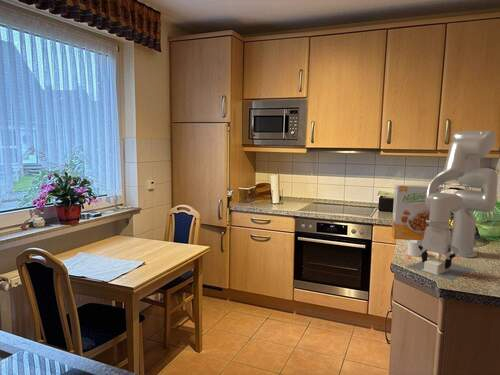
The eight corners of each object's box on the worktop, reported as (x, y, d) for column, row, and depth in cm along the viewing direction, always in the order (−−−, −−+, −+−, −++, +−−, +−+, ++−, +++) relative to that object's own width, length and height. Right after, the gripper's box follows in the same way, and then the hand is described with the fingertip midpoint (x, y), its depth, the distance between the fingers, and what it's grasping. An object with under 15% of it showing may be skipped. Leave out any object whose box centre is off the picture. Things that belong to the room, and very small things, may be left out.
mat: (431, 258, 174) (431, 257, 174) (475, 270, 159) (475, 269, 159) (406, 267, 162) (406, 266, 162) (451, 281, 147) (451, 279, 146)
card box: (437, 273, 153) (437, 265, 153) (423, 269, 157) (424, 261, 157) (446, 269, 158) (447, 261, 157) (433, 266, 162) (434, 258, 162)
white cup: (403, 253, 182) (404, 239, 181) (417, 253, 183) (418, 239, 182) (410, 257, 176) (411, 243, 175) (424, 257, 176) (425, 243, 175)
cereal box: (394, 239, 209) (397, 185, 206) (391, 236, 215) (394, 184, 212) (436, 241, 206) (440, 187, 203) (432, 238, 212) (436, 185, 209)
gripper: (414, 222, 160) (411, 260, 162) (456, 230, 146) (452, 272, 148) (423, 220, 164) (420, 257, 166) (464, 227, 151) (461, 268, 153)
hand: (435, 264), depth 157 cm, fingers open, 9 cm apart
